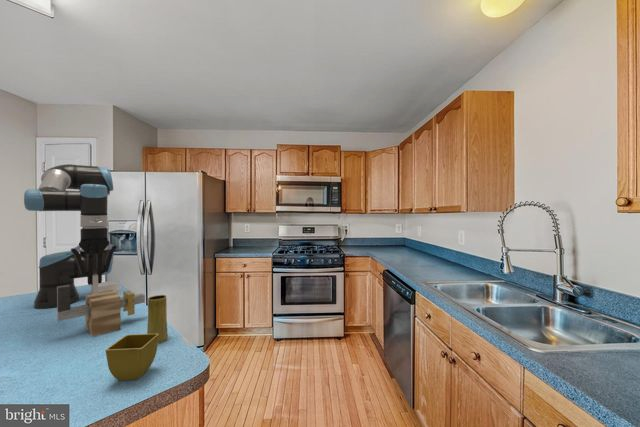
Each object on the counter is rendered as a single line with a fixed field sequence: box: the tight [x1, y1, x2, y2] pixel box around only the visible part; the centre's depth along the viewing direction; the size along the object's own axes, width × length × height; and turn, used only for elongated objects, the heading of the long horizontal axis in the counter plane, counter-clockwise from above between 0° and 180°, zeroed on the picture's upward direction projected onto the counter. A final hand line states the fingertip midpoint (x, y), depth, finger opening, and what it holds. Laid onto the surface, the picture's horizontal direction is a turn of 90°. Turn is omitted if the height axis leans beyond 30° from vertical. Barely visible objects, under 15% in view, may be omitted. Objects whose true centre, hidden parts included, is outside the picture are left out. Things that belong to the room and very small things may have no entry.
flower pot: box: [105, 333, 159, 382], centre depth 72 cm, size 9×9×9 cm
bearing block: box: [85, 290, 122, 338], centre depth 100 cm, size 12×8×12 cm, turn 48°
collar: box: [122, 289, 136, 316], centre depth 106 cm, size 7×2×8 cm, turn 48°
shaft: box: [56, 285, 146, 322], centre depth 101 cm, size 3×25×11 cm, turn 138°
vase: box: [146, 294, 169, 344], centre depth 91 cm, size 6×6×14 cm
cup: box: [98, 280, 122, 297], centre depth 117 cm, size 9×9×12 cm
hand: (94, 293), depth 99 cm, fingers closed
